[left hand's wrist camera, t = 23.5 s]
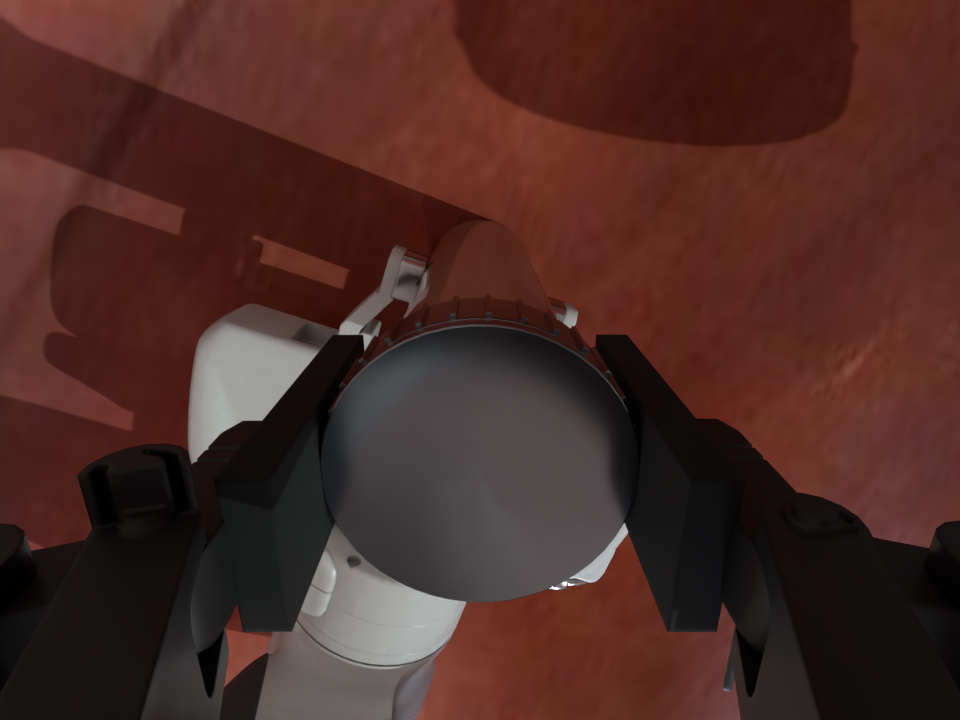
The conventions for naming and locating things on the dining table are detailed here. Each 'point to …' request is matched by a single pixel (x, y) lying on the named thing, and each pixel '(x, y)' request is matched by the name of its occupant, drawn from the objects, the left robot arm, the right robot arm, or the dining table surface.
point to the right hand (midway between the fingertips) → (486, 277)
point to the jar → (479, 268)
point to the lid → (479, 452)
